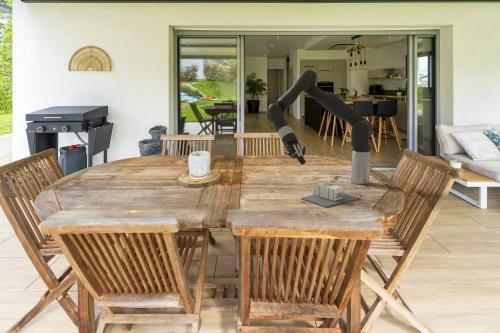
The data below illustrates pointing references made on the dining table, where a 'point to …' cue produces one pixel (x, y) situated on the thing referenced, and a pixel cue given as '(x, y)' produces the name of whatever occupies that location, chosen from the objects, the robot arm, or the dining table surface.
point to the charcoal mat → (328, 202)
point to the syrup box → (327, 190)
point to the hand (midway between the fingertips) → (303, 163)
